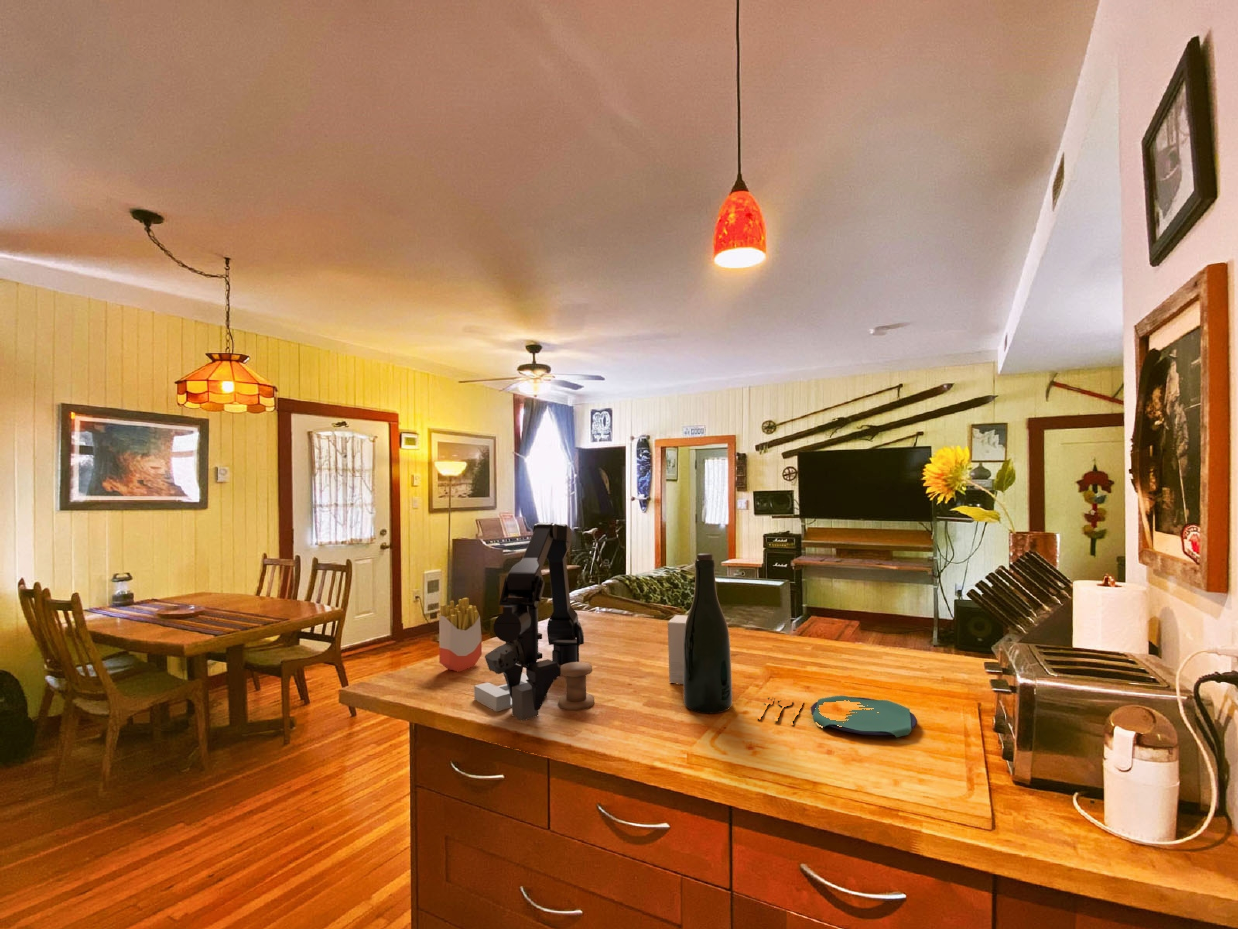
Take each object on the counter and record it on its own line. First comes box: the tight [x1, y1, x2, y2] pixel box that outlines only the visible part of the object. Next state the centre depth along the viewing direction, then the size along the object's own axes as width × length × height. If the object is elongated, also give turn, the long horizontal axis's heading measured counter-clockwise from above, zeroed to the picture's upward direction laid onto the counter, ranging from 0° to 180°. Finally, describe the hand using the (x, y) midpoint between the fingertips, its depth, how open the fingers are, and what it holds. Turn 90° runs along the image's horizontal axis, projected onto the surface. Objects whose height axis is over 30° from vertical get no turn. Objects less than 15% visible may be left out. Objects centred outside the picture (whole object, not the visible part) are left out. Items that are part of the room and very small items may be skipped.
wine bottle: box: [683, 552, 733, 714], centre depth 127 cm, size 10×10×33 cm
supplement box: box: [667, 614, 688, 685], centre depth 144 cm, size 9×9×15 cm
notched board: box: [473, 672, 548, 713], centre depth 133 cm, size 13×10×3 cm
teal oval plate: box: [810, 695, 918, 738], centre depth 119 cm, size 20×30×2 cm, turn 65°
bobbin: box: [557, 661, 595, 711], centre depth 129 cm, size 8×8×8 cm
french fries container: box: [438, 597, 483, 673], centre depth 156 cm, size 5×11×18 cm, turn 145°
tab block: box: [511, 682, 540, 722], centre depth 122 cm, size 4×4×6 cm
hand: (525, 704), depth 122 cm, fingers open, 9 cm apart
